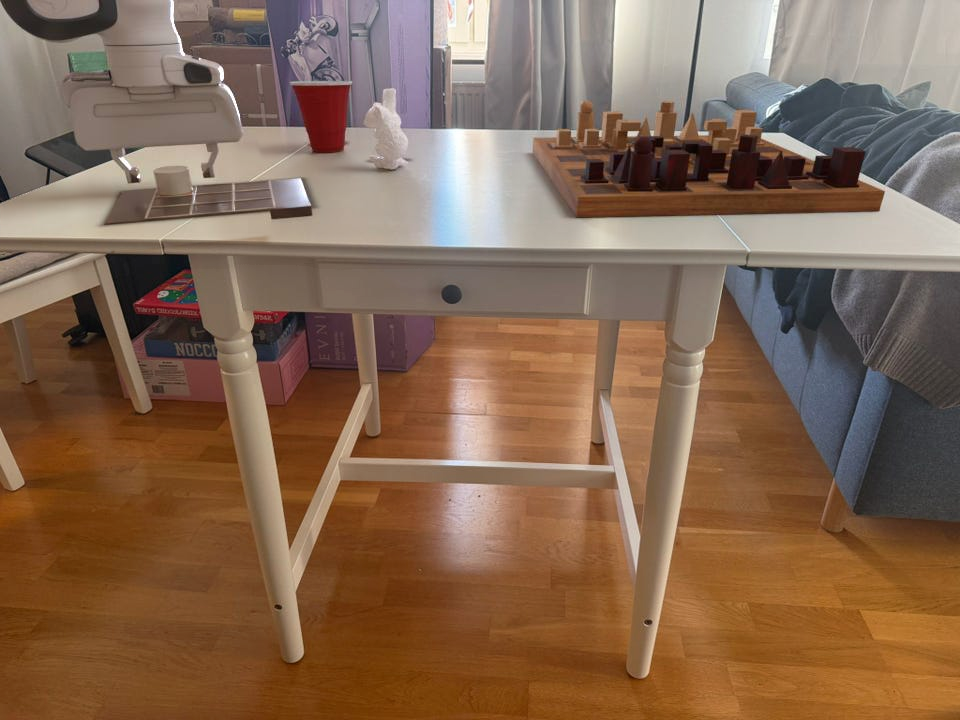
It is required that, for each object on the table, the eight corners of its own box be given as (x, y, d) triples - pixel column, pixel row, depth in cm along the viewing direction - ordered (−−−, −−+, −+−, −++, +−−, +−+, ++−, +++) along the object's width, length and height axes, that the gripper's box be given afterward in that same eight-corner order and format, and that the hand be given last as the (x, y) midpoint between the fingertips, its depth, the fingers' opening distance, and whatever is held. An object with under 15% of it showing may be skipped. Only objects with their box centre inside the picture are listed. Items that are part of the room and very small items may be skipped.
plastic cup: (361, 143, 128) (355, 75, 123) (354, 155, 119) (348, 82, 113) (303, 144, 128) (295, 76, 122) (292, 156, 118) (283, 82, 113)
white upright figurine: (380, 160, 115) (375, 85, 109) (418, 162, 113) (414, 86, 108) (361, 172, 108) (354, 91, 102) (401, 174, 106) (396, 93, 100)
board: (106, 233, 80) (103, 222, 79) (124, 199, 93) (122, 190, 93) (312, 215, 86) (311, 205, 86) (301, 186, 100) (300, 177, 99)
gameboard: (749, 149, 123) (759, 96, 118) (879, 210, 88) (900, 138, 83) (532, 152, 120) (534, 98, 116) (576, 217, 85) (581, 142, 81)
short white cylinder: (156, 196, 90) (151, 173, 88) (159, 188, 93) (154, 166, 92) (191, 194, 91) (187, 171, 89) (193, 186, 94) (189, 164, 93)
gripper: (50, 74, 79) (83, 191, 86) (232, 69, 85) (250, 179, 91) (61, 69, 84) (91, 180, 91) (232, 64, 90) (249, 169, 97)
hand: (172, 179), depth 91 cm, fingers open, 8 cm apart
